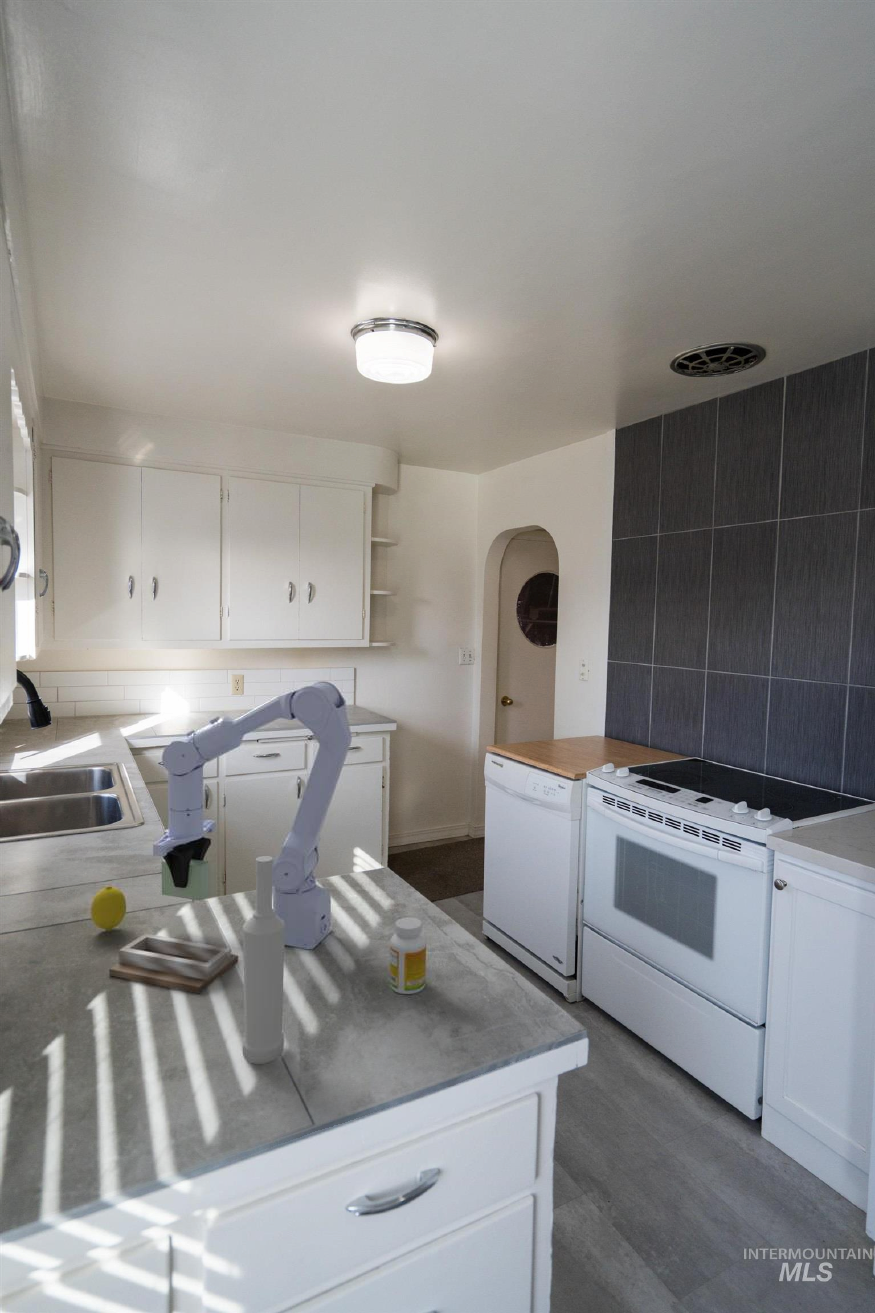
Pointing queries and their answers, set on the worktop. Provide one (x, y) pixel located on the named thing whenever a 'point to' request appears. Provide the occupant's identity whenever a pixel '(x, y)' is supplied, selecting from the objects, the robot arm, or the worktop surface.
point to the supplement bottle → (408, 957)
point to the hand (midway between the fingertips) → (186, 883)
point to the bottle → (263, 973)
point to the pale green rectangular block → (196, 881)
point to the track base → (173, 962)
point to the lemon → (108, 908)
